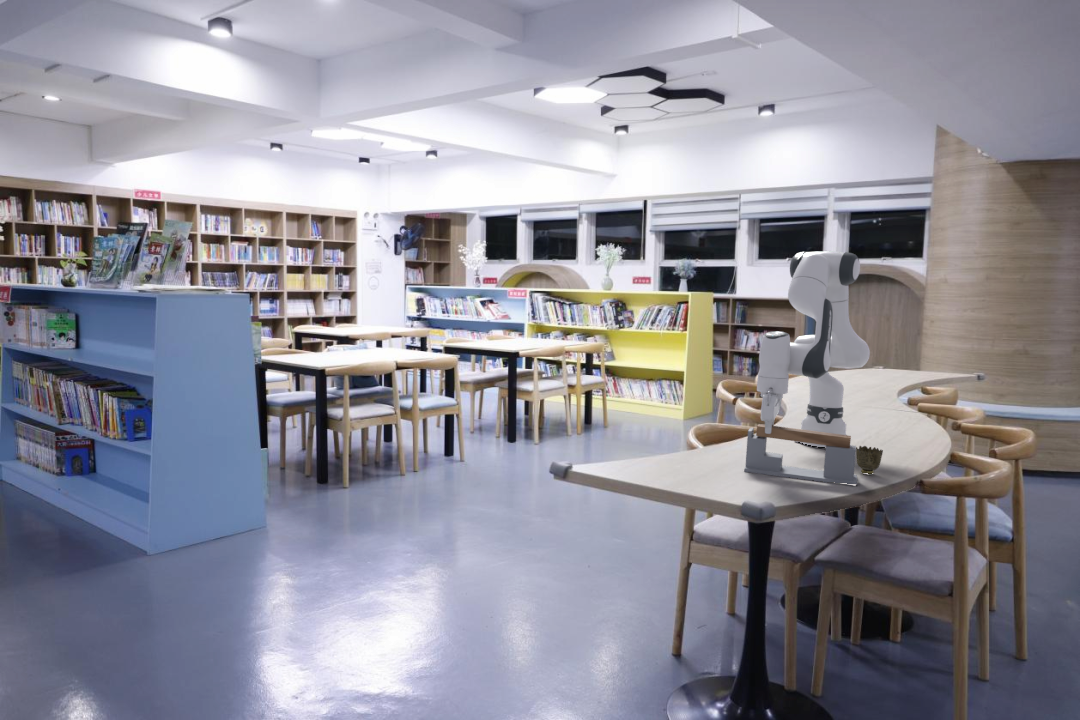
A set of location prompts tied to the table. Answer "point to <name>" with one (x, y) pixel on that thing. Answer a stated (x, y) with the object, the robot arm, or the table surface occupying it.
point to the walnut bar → (805, 436)
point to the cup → (868, 459)
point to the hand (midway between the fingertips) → (769, 431)
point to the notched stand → (835, 468)
